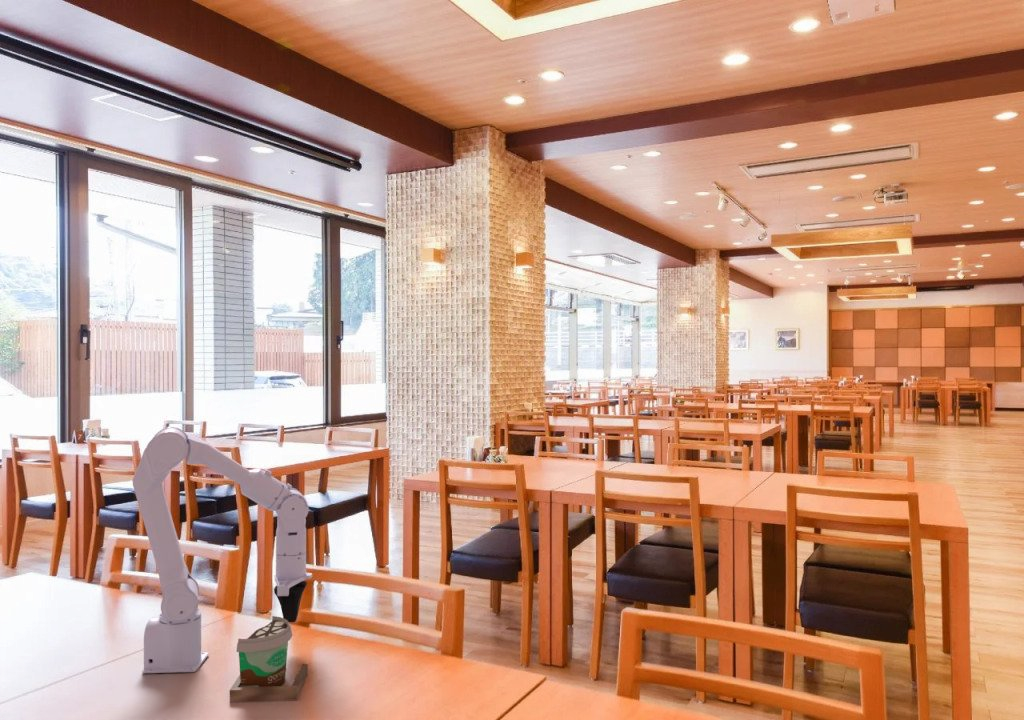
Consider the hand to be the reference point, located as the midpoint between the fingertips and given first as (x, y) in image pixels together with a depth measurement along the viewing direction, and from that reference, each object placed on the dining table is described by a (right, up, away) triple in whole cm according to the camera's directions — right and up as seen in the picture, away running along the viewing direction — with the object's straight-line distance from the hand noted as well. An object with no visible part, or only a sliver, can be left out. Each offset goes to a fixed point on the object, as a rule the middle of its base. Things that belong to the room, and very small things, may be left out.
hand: (290, 621), depth 149 cm
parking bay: (+1, -6, -17) cm, 18 cm away
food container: (+1, -6, -16) cm, 17 cm away
